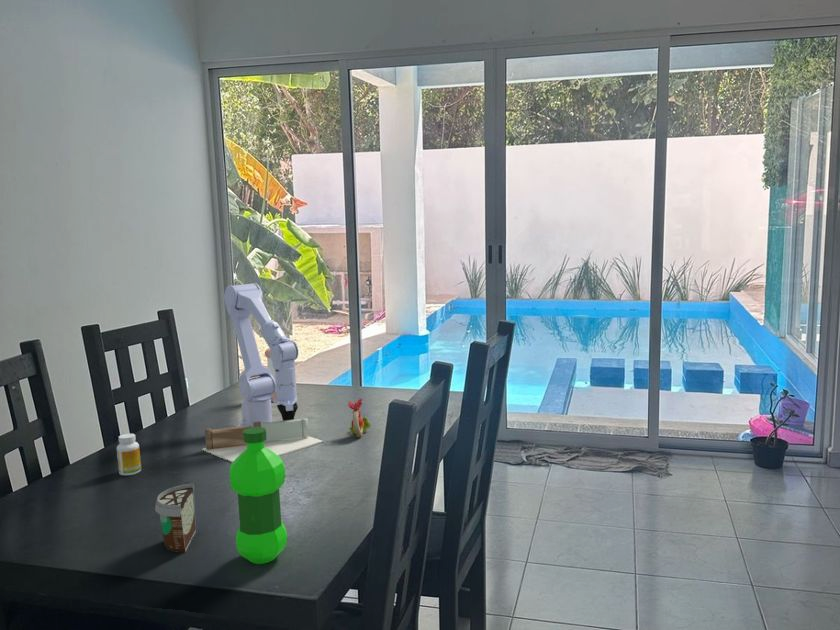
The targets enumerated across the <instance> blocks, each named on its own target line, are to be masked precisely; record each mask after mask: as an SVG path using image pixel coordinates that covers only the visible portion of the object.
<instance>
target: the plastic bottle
mask: <svg viewBox="0 0 840 630" xmlns="http://www.w3.org/2000/svg"><path fill="white" fill-rule="evenodd" d="M243 437H244V442H245V443H247V449H246V450H245V451H243V452H242V453H241V454H240V455H239V456H238V457H237V458H236V459H235V460H234V461H233V462H231V463H230V467H229V472H228V474H229V476H228V477H229V485H230V486H231V487H230V488H231V490H232V491H233V492H235V493H236V494H237V501H238V502H237V503H238V514H239V515H238V517H239V526H238V529H237V532H236V534H235V545H236V547H235V548H236V550H237V552H238V555H240V556H242V557H243V558H245V559H246V560H247V561H249V562H250V563H252V564H254V563H255V565H264V564H266V563H271V562H273V561H274V560H275V559H276V558H277V557H278V556H279V555H280V554H281V553H282V552H283V551H284V550H285V548H286V546H287V544H288V533H287V529H286V526H285V524H284V522H283V521H282V515H281V514H282V512H281V497H280V496H281V495H280V489H281V487H283V485H284V484H285V479H286V469H285V468H286V467H285V465H284V464H285V463H284V462H283V460H282V458H281V456H278V455H276V454H275V453H274V452H272V451H271V450H269V449H267V448H266V447H264V441H265V440H266V428H262V427H253V428H248V429H245V430H243ZM270 561H271V562H270Z"/></svg>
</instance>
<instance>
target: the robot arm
mask: <svg viewBox="0 0 840 630" xmlns="http://www.w3.org/2000/svg"><path fill="white" fill-rule="evenodd" d="M263 294H264V293H263V291H262V289H261V287H260V285H259V284H258V283H257V282H252V283H246V284H236V285H227V287H226V288H225V291H224V295H223V299H224V303H225V307H226V311H227V314H228V315H230V316H231V321H232V325H233V329H234V333H235V336H236V340H237V344H238V347H239V351H240V355H241V359H242V363H243V366H244V370H243V371H242V372H241V373H240V375H239V376H238V382H239V394H240V396H241V398H243V400H242V402H241V406H240V409H241V422H242V423H240V425H239V427H241V426H251V425H252V428H253V427H254V424H253V423H254V422H261V427H262V423H266V422H273V411H272V409H273V408H272V402H271V398H272V397H273V394H274V393H275V391H276V394H277V398H274V399H273V403H277V405H276V407H277V409H278V411H279V413H280V416H281V417H282V418H281V419H282V421H285V420H294V419H295V416H296V412H297V410H298V404H297V402H298V400H299V399H298V395H297V394H298V393H297V377H296V360H297V359H298V357H299V349H298V345H297V343H296V342H295V341H294V340H293V339H292V340H291V338H289V337H288V336H286V334H285V332H284V331H283V329H282V327H281V326H280V324H279V323H278V322H277V321H272V318H271V316H270V314H269V312H268V310H267V308H266V306H265V304H264V301H263V297H264V296H263ZM251 315H252V316H253V317H254V319H255V320H256V322H257V323H258V325H260V327H261V329H260V335H261V336H262V338H263V339H264V341H265V343H266V344H267V346H268V349H269V348H270V349H271V350H270V358H271V360H272V363H273V368H274V369H275V378H276V382H275V379H274V378H273V376H272V374H271V371H270V369H268V367H266V366H264V365H263V364H262V360H261V356H260V352H259V348H258V345H257V341H256V338H255V334H254V330H253V326H252V322H251V318H250V316H251Z"/></svg>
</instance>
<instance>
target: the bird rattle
mask: <svg viewBox="0 0 840 630" xmlns="http://www.w3.org/2000/svg"><path fill="white" fill-rule="evenodd" d="M362 401H363V398H359V399H358V400H356V401H355V402H354V403H353V402H351V401H348V405H347V406H348V407H349V408H350V409H351V410H352V420H351V426H350V427H349V430H350V431H349V432H350V433H352V435H353V434H354V433H355V434H356V437H357V438H358V439H359V438H360V437H361V438H362V436H363V433H366V432H367V429H370V428H371V422H370V421H368V418H367V416H362V414H361V413H362V412H361V410H360V408H361V406H362V405H363V402H362ZM361 438H360V439H361Z"/></svg>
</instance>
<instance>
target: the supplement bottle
mask: <svg viewBox="0 0 840 630" xmlns="http://www.w3.org/2000/svg"><path fill="white" fill-rule="evenodd" d="M118 442H119V444H118V445H116V457H117V467H118V474H119V475H120V476H133V475H136V474H138V473H140V472H141V471H142V463H141V461H142V460H141V450H140V444H139V443H138V442H137V441H136V434H135V433H124V434H121V435H119V436H118Z"/></svg>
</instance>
